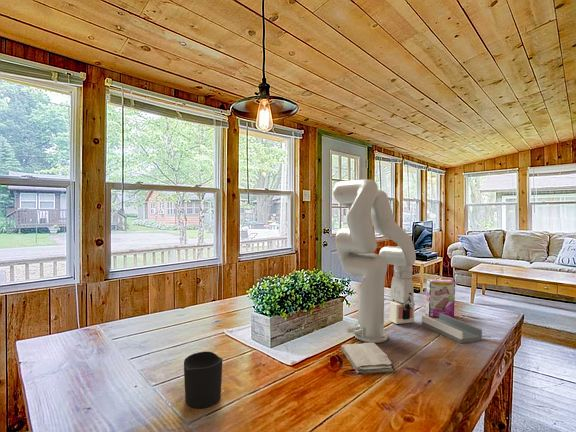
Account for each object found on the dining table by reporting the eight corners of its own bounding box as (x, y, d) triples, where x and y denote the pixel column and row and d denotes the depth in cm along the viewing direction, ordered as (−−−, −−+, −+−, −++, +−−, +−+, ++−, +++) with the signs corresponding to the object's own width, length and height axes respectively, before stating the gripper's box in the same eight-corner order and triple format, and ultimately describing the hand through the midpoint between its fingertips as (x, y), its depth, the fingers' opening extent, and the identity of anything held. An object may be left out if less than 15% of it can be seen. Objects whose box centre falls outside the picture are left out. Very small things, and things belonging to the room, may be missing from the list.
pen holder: (224, 388, 87) (225, 351, 87) (218, 410, 78) (218, 368, 77) (189, 388, 87) (189, 351, 87) (178, 410, 77) (179, 368, 77)
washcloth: (357, 376, 95) (357, 366, 95) (339, 350, 113) (339, 341, 113) (396, 374, 97) (396, 363, 97) (372, 348, 114) (372, 339, 114)
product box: (396, 324, 136) (396, 305, 136) (389, 320, 141) (389, 301, 141) (414, 322, 139) (414, 303, 139) (406, 318, 143) (407, 300, 143)
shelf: (421, 324, 137) (422, 315, 137) (440, 322, 140) (441, 313, 140) (460, 343, 118) (460, 332, 118) (481, 340, 121) (481, 329, 121)
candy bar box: (429, 317, 147) (429, 281, 146) (425, 313, 152) (426, 278, 151) (455, 318, 146) (455, 281, 145) (450, 314, 151) (451, 279, 150)
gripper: (383, 271, 146) (382, 312, 147) (408, 279, 130) (407, 324, 130) (397, 271, 149) (396, 310, 149) (424, 278, 133) (423, 322, 133)
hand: (401, 316), depth 140 cm, fingers closed on product box, 4 cm apart
